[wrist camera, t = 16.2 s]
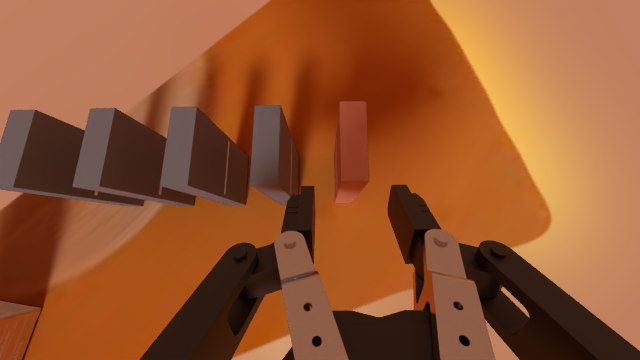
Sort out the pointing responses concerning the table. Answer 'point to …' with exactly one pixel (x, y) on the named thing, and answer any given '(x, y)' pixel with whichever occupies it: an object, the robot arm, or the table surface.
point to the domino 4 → (273, 155)
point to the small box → (16, 329)
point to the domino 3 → (203, 159)
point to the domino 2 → (124, 159)
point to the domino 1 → (46, 159)
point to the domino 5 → (351, 151)
